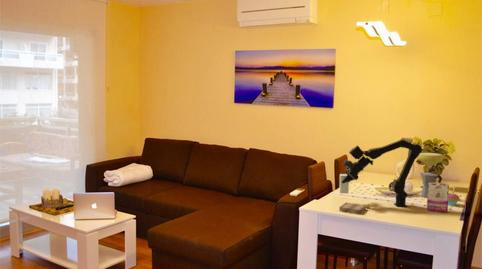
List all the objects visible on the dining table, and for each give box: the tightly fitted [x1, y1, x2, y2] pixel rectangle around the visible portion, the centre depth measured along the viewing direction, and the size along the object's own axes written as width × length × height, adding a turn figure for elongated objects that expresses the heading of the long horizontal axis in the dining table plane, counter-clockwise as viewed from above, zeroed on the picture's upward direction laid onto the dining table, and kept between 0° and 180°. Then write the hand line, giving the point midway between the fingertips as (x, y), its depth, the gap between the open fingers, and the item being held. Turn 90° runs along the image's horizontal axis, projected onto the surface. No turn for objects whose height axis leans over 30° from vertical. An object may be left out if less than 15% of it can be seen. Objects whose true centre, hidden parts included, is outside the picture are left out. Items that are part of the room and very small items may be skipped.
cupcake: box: [448, 186, 460, 207], centre depth 273 cm, size 9×8×12 cm
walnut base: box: [339, 202, 367, 215], centre depth 260 cm, size 12×12×2 cm
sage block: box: [338, 173, 350, 195], centre depth 274 cm, size 5×5×11 cm
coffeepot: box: [420, 169, 443, 199], centre depth 292 cm, size 15×9×18 cm, turn 33°
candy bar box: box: [426, 182, 450, 213], centre depth 259 cm, size 11×5×16 cm, turn 68°
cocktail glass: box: [416, 151, 445, 189], centre depth 318 cm, size 18×18×25 cm
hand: (341, 181), depth 274 cm, fingers closed on sage block, 5 cm apart
